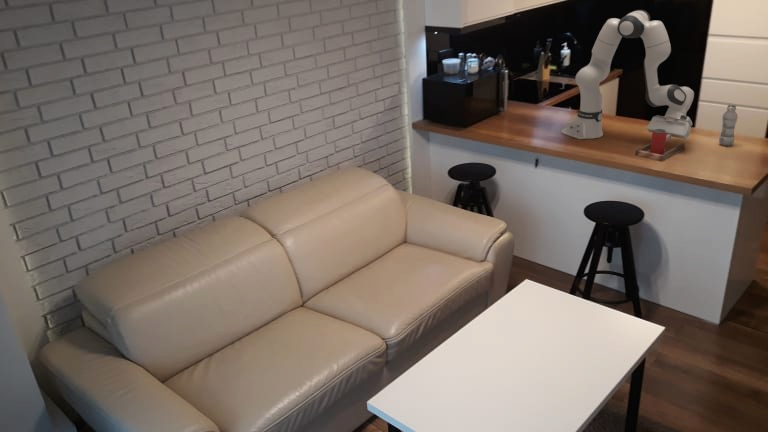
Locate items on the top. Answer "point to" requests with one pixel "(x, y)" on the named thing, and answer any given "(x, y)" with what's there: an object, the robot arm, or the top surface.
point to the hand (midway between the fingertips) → (662, 142)
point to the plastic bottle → (728, 126)
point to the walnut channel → (658, 157)
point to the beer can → (658, 141)
